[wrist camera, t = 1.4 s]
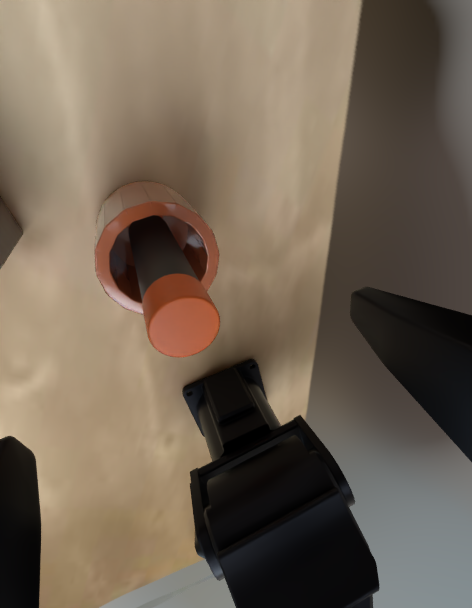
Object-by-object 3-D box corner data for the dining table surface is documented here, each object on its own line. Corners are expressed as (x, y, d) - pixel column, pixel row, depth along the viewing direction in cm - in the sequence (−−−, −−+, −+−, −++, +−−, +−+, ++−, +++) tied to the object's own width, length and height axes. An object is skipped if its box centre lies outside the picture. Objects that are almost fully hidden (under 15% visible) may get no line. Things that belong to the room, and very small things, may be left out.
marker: (175, 245, 19) (228, 341, 11) (137, 259, 19) (162, 368, 11) (162, 206, 18) (210, 285, 10) (120, 220, 18) (135, 313, 10)
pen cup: (205, 256, 21) (230, 291, 17) (121, 287, 20) (126, 331, 16) (178, 167, 18) (200, 184, 14) (77, 199, 17) (69, 227, 13)
